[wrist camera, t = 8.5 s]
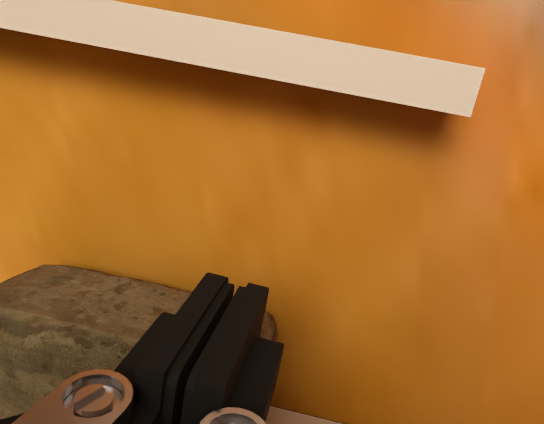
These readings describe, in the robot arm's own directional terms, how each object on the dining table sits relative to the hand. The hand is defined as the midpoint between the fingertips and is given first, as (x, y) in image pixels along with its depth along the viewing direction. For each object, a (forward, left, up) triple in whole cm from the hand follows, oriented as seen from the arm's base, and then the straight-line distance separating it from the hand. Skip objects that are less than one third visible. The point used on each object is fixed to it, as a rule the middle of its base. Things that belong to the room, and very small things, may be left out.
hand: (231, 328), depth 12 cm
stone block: (+8, +6, -9) cm, 13 cm away
